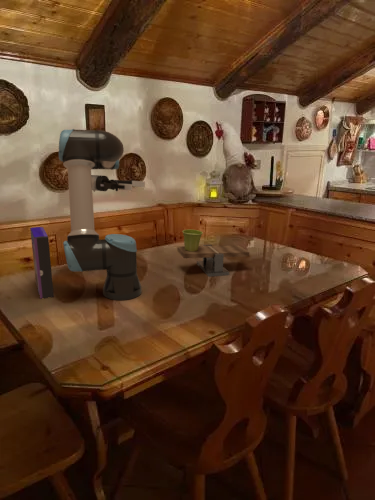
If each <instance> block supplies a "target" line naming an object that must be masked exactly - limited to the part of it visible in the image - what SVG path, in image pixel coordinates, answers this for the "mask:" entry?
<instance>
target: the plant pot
mask: <svg viewBox="0 0 375 500" xmlns="http://www.w3.org/2000/svg"><path fill="white" fill-rule="evenodd" d="M182 233H183V234H182V235H183V243H184V245H183V246H185V250H188V251H192V252H194V251H197V250H198V247H199V246H200V241H201V237H202V236H203V233H204V232H203V231H201V230H197V229H183V230H182Z"/></svg>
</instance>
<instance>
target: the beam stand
mask: <svg viewBox="0 0 375 500" xmlns="http://www.w3.org/2000/svg"><path fill="white" fill-rule="evenodd" d="M203 246H213V244H203ZM224 258H225V257H224V254H223V253H220V254H214V257H209V258H202V260H197V261H196V265H197V266H198V267H199V269H200V270H202V271H203V272H204V273H205V275H207V277H209V278H210V277H220V276H230V271H229V270H227V268H226V267H225V266H224Z"/></svg>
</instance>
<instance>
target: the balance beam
mask: <svg viewBox="0 0 375 500" xmlns="http://www.w3.org/2000/svg"><path fill="white" fill-rule="evenodd" d="M176 249H177V252H178V253H179V254H180V256H182V257H183V259H201V258H202V259H203V258H209V257H214V254H220V253H223V254H224V257H223V258H233V257H234V258H237V257H238V258H239V257H250V251H248V250H247V249H246V248H244V247H242V246H241V245H237V244H234V245H212V246H204V245H199V247H198V250H197V251H194V252H192V251H188V250H185V245H183V246H179V245H178V246H177V248H176Z"/></svg>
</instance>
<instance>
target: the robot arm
mask: <svg viewBox="0 0 375 500" xmlns="http://www.w3.org/2000/svg"><path fill="white" fill-rule="evenodd" d="M124 148H125V147H124V144H123V142H122V141H121V140H120V138H119V137H117V135H115V134H113V133H111V132H109V131H106V130H101V129H98V130H96V129H95V130H93V129H92V130H91V129H75V128H72V129H62V131H60V133H59V139H58V160H59V161H60V162H63V163H62V165H63V167H64V168H65V169H67V178H68V179H67V180H68V197H69V198H68V199H69V201H68V202H69V216H70V217H69V218H70V232H69V233H68V235H67V237H66V238H67V239H66V240H64V241H63V243H62V244H63V250H64V255H65V260H66V265H67V268H68V270H69V271H70V272H81V273H82V272H91V271H103V270H105V271H106V277H105V281H104V284H103V286H102V294H103V296H104V297H105V298H107V299H110V300H114V301H125V300H126V301H127V300H131V299H136V298H137V297H139V296H140V295H141V294H142V285H141V284H142V283H141V282H140V279H139V276H138V272H137V270H138V269H137V268H138V267H137V265H138V264H137V252H138V249H137V242H136V239H135V238H133V237H132V236H129V235H127V234H120V233H110V234H107V235H105V237H104V238H103V239H100V234H99V233H98V232H97V231H96V230H95V215H94V214H95V213H94V197H93V193H95V192H97V191H99V192H107V191H108V190H113V191H114V190H115V191H116V192H118V191H119V190H122V191H133V188H134V187H137V188H146V186H145V185H146V182H145V181H142V180H140V181H139V180H134V179H132V178H131V180H128V179H127V180H126V179H125V180H124V179H123V180H122V179H120V180H119V179H109V177H108V176H107V175H102V174H101V175H98V174H92V170H111V171H113V170H119V168H120V159H121V158H122V157H123V154H124V152H125V151H124Z"/></svg>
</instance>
